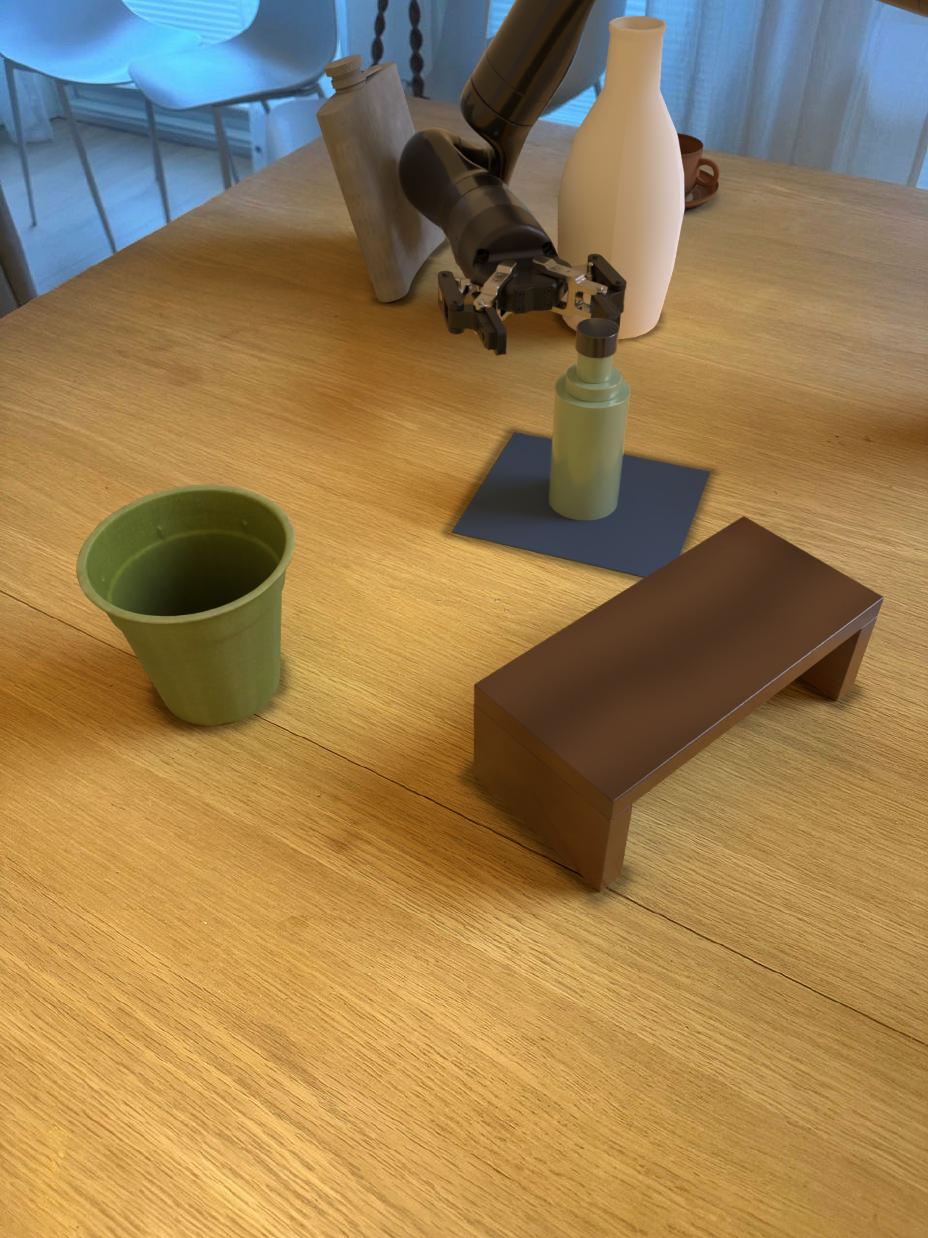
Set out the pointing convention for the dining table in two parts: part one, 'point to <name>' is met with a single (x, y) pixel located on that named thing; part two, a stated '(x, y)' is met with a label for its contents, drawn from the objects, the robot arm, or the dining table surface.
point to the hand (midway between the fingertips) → (557, 336)
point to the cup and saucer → (696, 172)
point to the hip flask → (376, 171)
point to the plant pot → (196, 594)
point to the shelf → (660, 684)
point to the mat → (621, 541)
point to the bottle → (626, 178)
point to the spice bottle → (589, 427)
